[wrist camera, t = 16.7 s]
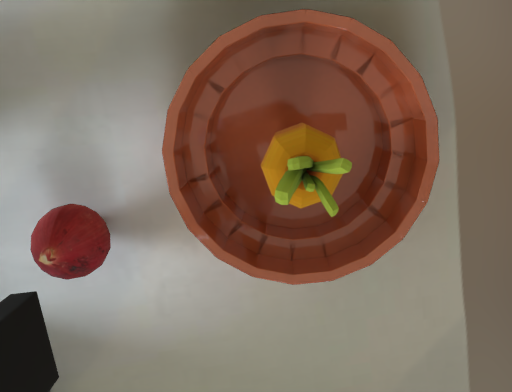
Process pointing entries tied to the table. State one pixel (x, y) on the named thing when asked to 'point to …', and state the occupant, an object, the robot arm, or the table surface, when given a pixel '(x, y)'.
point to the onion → (70, 241)
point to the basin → (289, 114)
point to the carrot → (304, 167)
